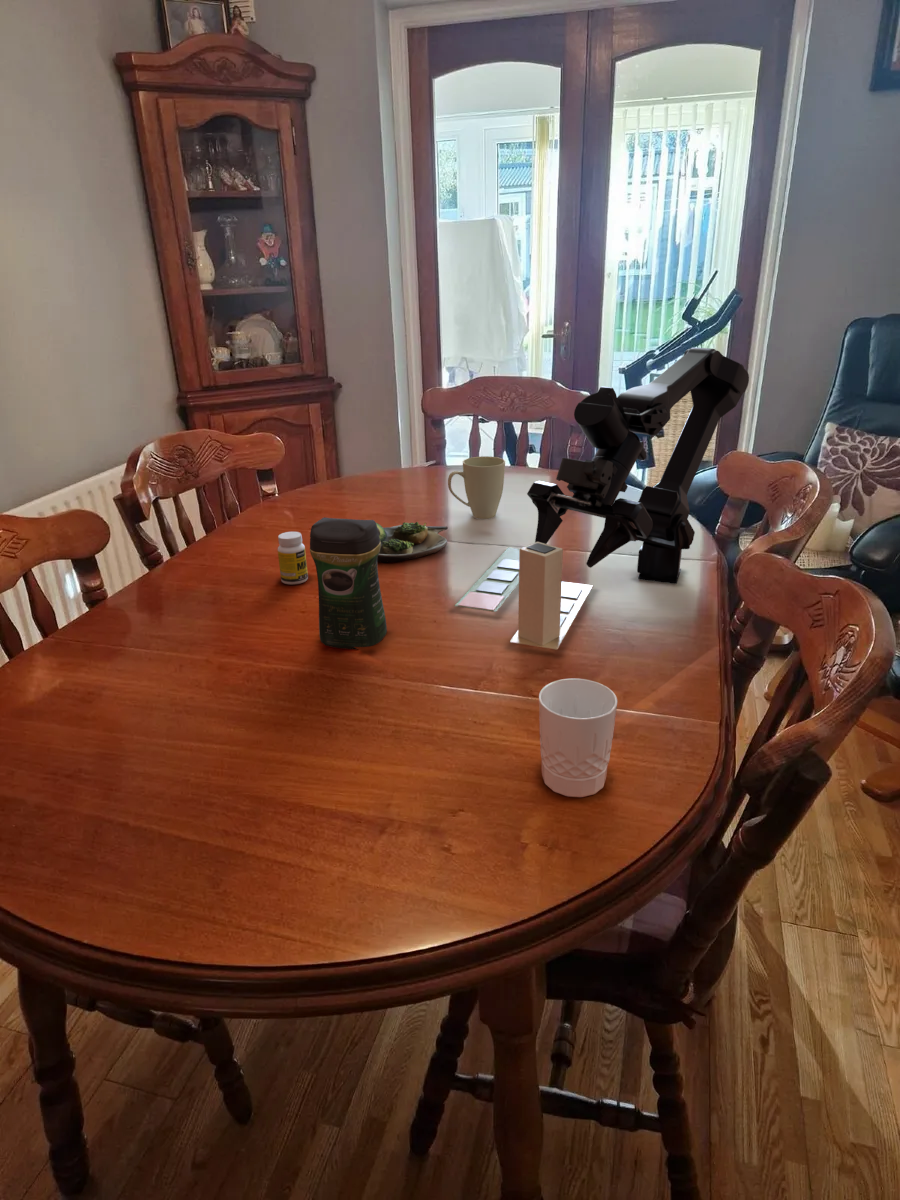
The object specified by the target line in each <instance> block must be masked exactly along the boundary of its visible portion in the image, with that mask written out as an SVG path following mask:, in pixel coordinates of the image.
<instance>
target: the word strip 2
mask: <svg viewBox="0 0 900 1200" xmlns="http://www.w3.org/2000/svg"><path fill="white" fill-rule="evenodd" d="M593 588H594V585H593V584H584V583H578V582H568V581H562V586H561V611H560V636H559V637H557V638H556V639H554V640H552V641H550V642H548V643H547V644H545V645H543V646H542V645H539V644H537V643H534V642H531V641H529V640H526V639H524V638H521V637H519V636H518V629H517V630H516V632H515V633H514V635H513V636H512V637H511V639H510V641H509V643H511V644H518V645H524V646H531V647H538V648H543V649H550V650H556V651H557V650H558V649H559V648H560V646H561V644H562V642H563V640H564V639H565V637H566V635H567V633H568V631H569V629H570V628H571V626H572V624H573V623H574V621H575V619H576V617H577V615H578V614H579V612H580V611H581V608H582V607H583V605H584V603H585V601H586V599H587V598H588V597H589V594H590V592H591V590H592V589H593Z"/></svg>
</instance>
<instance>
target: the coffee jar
mask: <svg viewBox="0 0 900 1200" xmlns="http://www.w3.org/2000/svg"><path fill="white" fill-rule="evenodd" d="M376 523H377V522H376V521H375V519H355V518H354V519H353V518H335V517H334V518H333V517H326V516H325V517H322V518H320V519H319V520H317V521H316V522H314V523H313V524H312V526H311V528H310V531H309V532H310V533H309V538H310V539H309V553H310V556H311V558H312V560H313V562H314V566H315V570H316V577H317V591H318V593H317V595H318V633H319V635H318V636H319V641H320V642H321V644H323V645H324V646H326V647H329V648H334V649H341V650H353V651H354V650H355V651H360V649H359V648H368V647H374V646H375V645H377V644H379V643H380V642H382V640H383V639H384V638H385V637H386V635H387V633H388V627H387V619H386V613H385V607H384V603H383V597H382V591H381V586H380V579H379V568H378V562H377V558H378V554H379V552H380V547H381V542H380V537H379V533H378V528H377V524H376Z"/></svg>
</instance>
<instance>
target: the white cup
mask: <svg viewBox="0 0 900 1200" xmlns="http://www.w3.org/2000/svg"><path fill="white" fill-rule="evenodd" d="M617 709H618V697H617V695H616V693H615V692H614V691H613V690H612V689H611V688H609V687H608V686H607V685H605V684H602V683H601V682H598V681H595V680H591V679H586V678H574V677H573V678H563V679H557V680H554V681H552V682H550V683H548V684H545V686H543V687H542V689H541V690H540V691H539V694H538V716H539V717H538V719H539V720H538V721H539V725H538V726H539V744H540V747H539V749H540V758H541V776H542V779H543V783H544V784H545V786H546V787H548V788H549V789H550V790H551V791H552V792H554V793H556V794H560V795H562V796H565V797H570V798H584V797H585V798H586V797H588V796H589V797H590V796H592V795H596V794H597V793H598V792H599V791H600V790H602V789H603V788H604V786H605V783H606V780H607V775H608V774H607V773H608V765H609V763H610V759H611V751H612V746H613V739H614V732H615V724H616V718H617V717H616V715H617Z"/></svg>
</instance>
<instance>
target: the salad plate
mask: <svg viewBox="0 0 900 1200" xmlns="http://www.w3.org/2000/svg"><path fill="white" fill-rule="evenodd" d="M376 524H377V528H378V533H379V537H380V542H381V547H380V552H379V554H378V558H377V563H384V564H385V563H398V562H403V561H408V560H413V559H419V558H421V557H425V556H428V555H430V554H431V555H432V554H434V553H437V552H439V551H440V550H441V549H443V548H444V547H446V545H447V544H448V542H449V541H448V540H447V539H446V537H444V536H442V535H441V534H439V533H441V532H445V531H448V528H449V527H448V526H446V525H444V526H442V525H441V526H440V525H439V526H437V525H436V526H435V525H432V526H431V525H429V526H428V525H427V522H423V524H420V523H419V522H418V521H415V522H405V521H403V522H402V524H399V525H394V526H389V527H383V526H382V525H381V524H380V523H378V522H376Z"/></svg>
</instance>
